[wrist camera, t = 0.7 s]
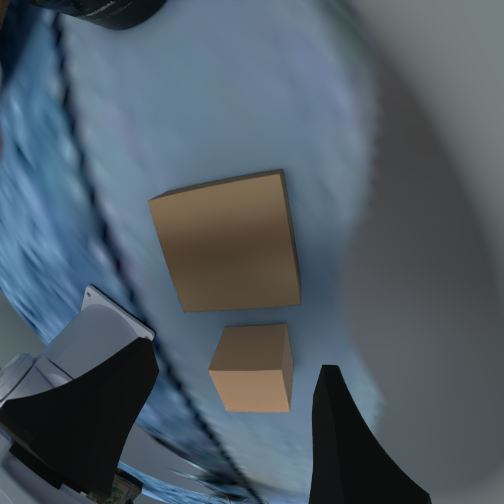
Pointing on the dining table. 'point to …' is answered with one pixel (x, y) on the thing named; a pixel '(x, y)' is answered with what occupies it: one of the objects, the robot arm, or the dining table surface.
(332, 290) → the dining table surface
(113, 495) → the beer stein
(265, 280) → the walnut base
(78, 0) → the supplement bottle
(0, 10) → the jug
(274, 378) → the terracotta cube
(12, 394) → the robot arm
